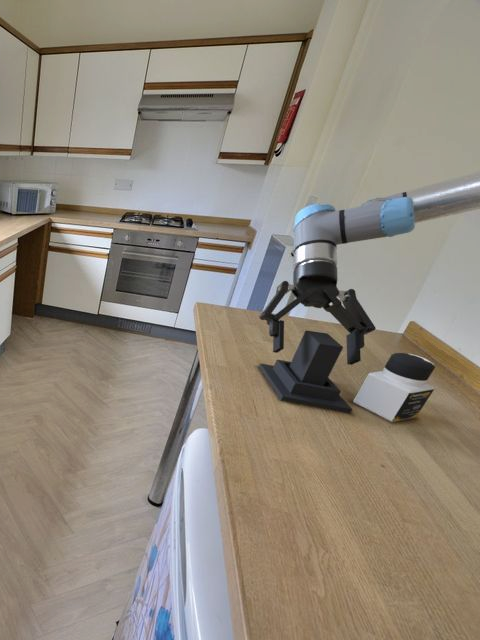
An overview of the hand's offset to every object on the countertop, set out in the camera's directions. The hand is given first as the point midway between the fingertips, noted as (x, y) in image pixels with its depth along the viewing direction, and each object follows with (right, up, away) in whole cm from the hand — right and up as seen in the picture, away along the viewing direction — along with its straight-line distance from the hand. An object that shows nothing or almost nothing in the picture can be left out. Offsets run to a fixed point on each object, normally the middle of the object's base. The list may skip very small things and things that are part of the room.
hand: (315, 356), depth 85 cm
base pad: (0, -7, +3) cm, 8 cm away
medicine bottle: (+11, -11, -3) cm, 16 cm away
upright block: (0, -6, +3) cm, 7 cm away
